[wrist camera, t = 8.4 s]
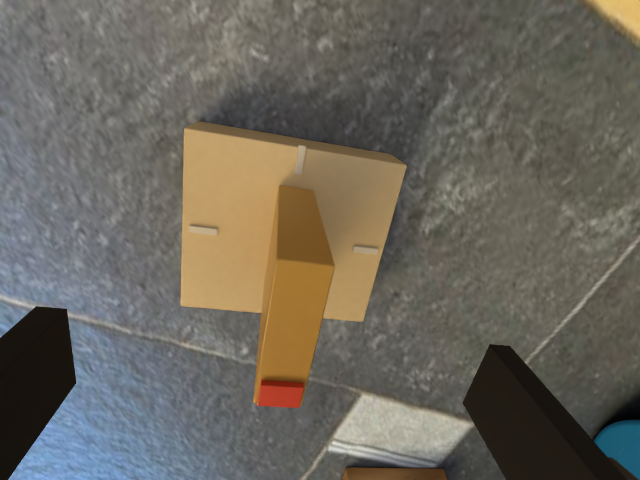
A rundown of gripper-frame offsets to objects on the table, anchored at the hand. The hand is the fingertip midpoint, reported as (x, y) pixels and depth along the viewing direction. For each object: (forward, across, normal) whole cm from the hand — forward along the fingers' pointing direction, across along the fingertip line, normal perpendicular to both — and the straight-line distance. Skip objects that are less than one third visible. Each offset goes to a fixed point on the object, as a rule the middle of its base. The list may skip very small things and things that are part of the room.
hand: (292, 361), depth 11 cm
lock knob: (+9, 0, 0) cm, 9 cm away
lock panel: (+12, 0, 0) cm, 12 cm away
